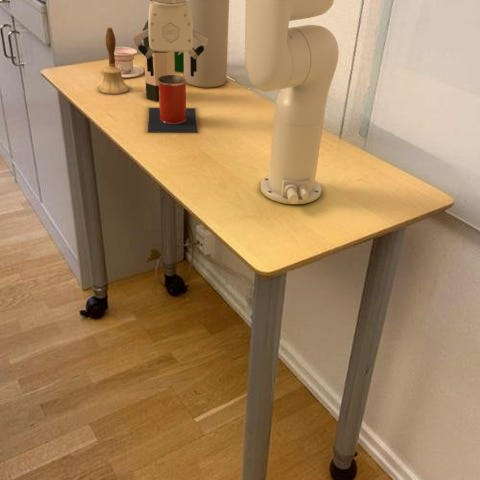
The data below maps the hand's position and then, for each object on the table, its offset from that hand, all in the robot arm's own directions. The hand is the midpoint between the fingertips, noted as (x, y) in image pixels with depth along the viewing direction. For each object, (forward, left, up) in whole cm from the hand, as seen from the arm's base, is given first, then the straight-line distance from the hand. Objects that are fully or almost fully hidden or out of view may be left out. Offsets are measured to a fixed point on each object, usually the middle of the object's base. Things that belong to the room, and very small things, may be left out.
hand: (172, 74), depth 141 cm
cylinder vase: (+30, -10, -12) cm, 34 cm away
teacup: (+37, +14, -12) cm, 42 cm away
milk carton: (+42, -2, -12) cm, 44 cm away
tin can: (0, 0, -11) cm, 11 cm away
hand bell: (+22, +16, -12) cm, 30 cm away
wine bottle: (+17, +3, -12) cm, 21 cm away
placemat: (0, 0, -11) cm, 11 cm away
